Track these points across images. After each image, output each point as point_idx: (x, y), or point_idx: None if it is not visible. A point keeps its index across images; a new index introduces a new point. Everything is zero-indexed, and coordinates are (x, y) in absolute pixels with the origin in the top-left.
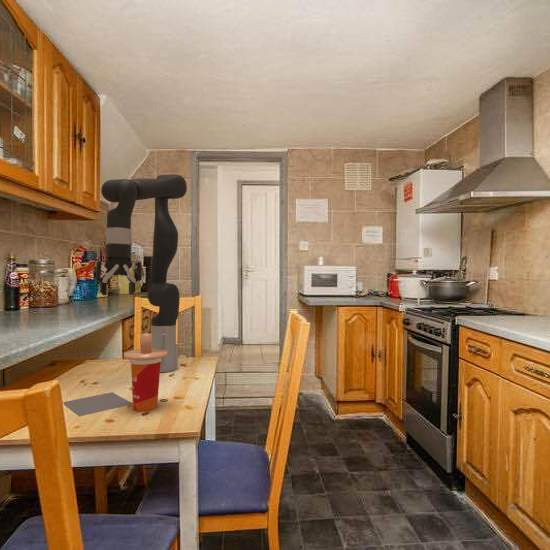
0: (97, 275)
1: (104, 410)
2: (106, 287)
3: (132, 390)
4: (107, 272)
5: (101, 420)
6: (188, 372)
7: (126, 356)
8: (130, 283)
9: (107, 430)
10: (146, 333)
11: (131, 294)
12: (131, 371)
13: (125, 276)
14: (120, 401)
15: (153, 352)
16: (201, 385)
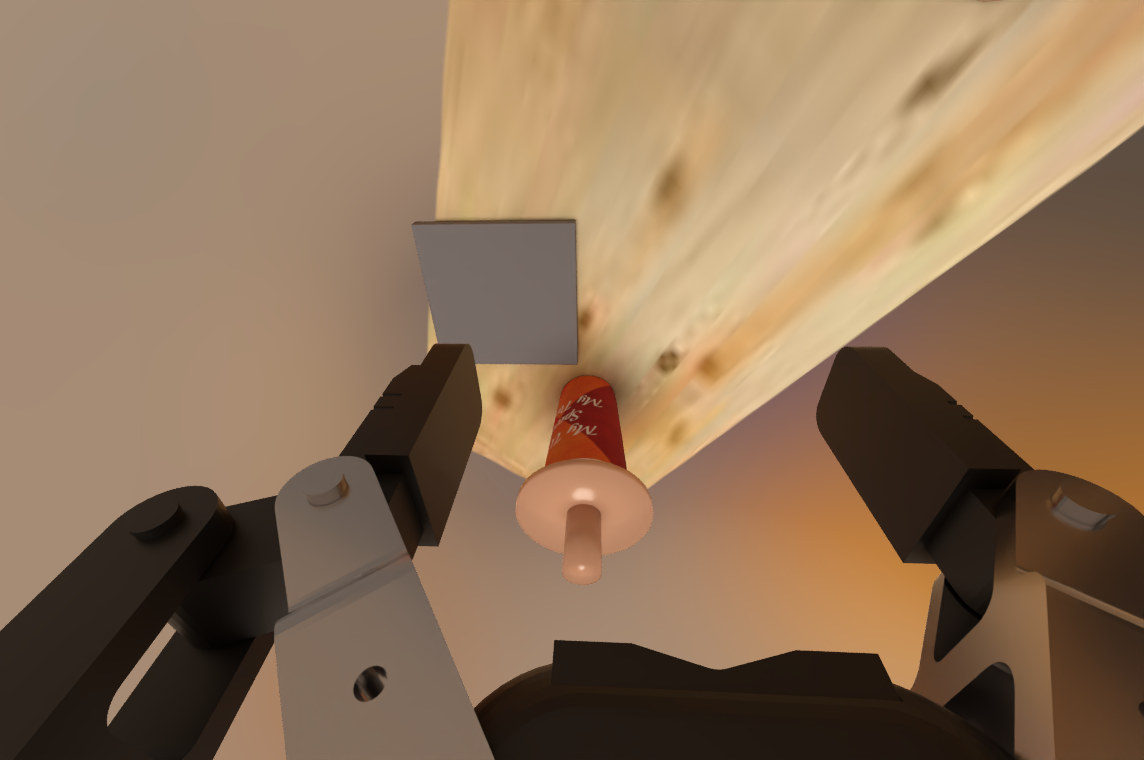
0: (178, 698)
1: (501, 363)
2: (452, 489)
3: (553, 427)
4: (385, 732)
5: (487, 387)
6: (1026, 93)
7: (516, 513)
8: (922, 517)
9: (483, 436)
10: (588, 566)
11: (823, 407)
12: (546, 461)
13: (1020, 605)
14: (558, 329)
15: (603, 524)
16: (853, 315)
